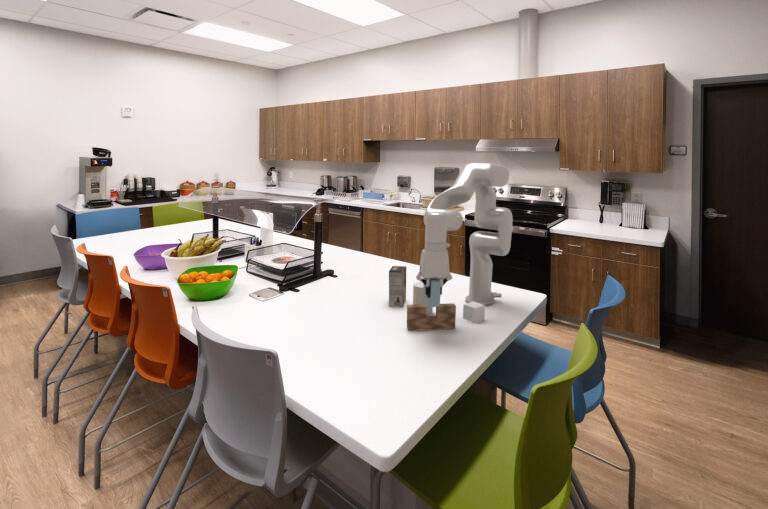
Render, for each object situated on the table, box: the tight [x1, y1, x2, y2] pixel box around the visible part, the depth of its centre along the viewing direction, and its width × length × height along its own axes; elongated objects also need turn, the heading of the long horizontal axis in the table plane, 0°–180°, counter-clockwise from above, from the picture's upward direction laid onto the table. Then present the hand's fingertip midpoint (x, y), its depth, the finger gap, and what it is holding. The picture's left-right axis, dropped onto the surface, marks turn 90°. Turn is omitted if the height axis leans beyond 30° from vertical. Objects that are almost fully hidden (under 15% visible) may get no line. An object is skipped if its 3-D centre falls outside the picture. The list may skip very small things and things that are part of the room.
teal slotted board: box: [423, 278, 441, 308], centre depth 164 cm, size 3×16×9 cm, turn 6°
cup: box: [412, 281, 434, 316], centre depth 183 cm, size 8×8×12 cm
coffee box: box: [388, 265, 407, 308], centre depth 193 cm, size 9×6×16 cm
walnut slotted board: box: [406, 302, 457, 331], centre depth 167 cm, size 18×3×9 cm, turn 95°
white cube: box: [462, 302, 486, 324], centre depth 176 cm, size 6×6×6 cm
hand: (433, 296), depth 160 cm, fingers closed on teal slotted board, 3 cm apart
